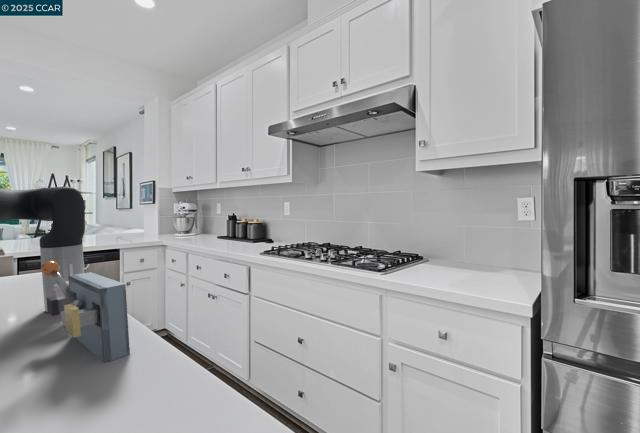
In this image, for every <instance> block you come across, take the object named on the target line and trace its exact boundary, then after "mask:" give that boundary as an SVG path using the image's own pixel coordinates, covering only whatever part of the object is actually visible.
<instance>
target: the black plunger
mask: <svg viewBox="0 0 640 433" xmlns="http://www.w3.org/2000/svg"><path fill="white" fill-rule="evenodd" d="M69 302H70V301H69V300H68V298H67V297H66V296H63V297H58V298H55V297H53V296H52V297H47V310H48V312H47V313H48V314H49V315H50V316H52V317H54V316H55V317H56V316H59V315H60V312H61V311H65V309H64V305H68V304H69Z"/></svg>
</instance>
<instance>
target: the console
mask: <svg viewBox="0 0 640 433" xmlns="http://www.w3.org/2000/svg"><path fill="white" fill-rule="evenodd" d="M68 277H69V288H70V289H71V290H72V292H73V293H74V294H75V296H76V297H77V298H78V299H80V300H82V301H83V302H84V306H83V308H81V309H85V308H89V307H95V308H97V309H98V316H99V322H98V323H95V324H91V325H87V326H83V327H80V331H81V336H78V337H74V339H76V340H77V341H78V342H79V343H80V344H81V345H83V346H84V347H85V348H87V350H89V351H90V352H91V353H92V354H94V355H95V356H96V357H97V358H98V359H99V360H100V361H102V362H103V363H104V364H106V363H109V362H112V361H114V360H117V359H122V358H123V357H126V356H129V355H131V351H130V339H129V338H130V336H129V332H130V331H129V321H128V320H129V318H128V317H129V316H128V302H127V290H126V289H127V287H126V283H124V282H120V281H118V280H115V279H111V278H109V277H105V276H102V275H100V274H98V273H95V272H88V271H87V272H85V273H82V274H76V275H70V276H68ZM81 309H80V310H81Z"/></svg>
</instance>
